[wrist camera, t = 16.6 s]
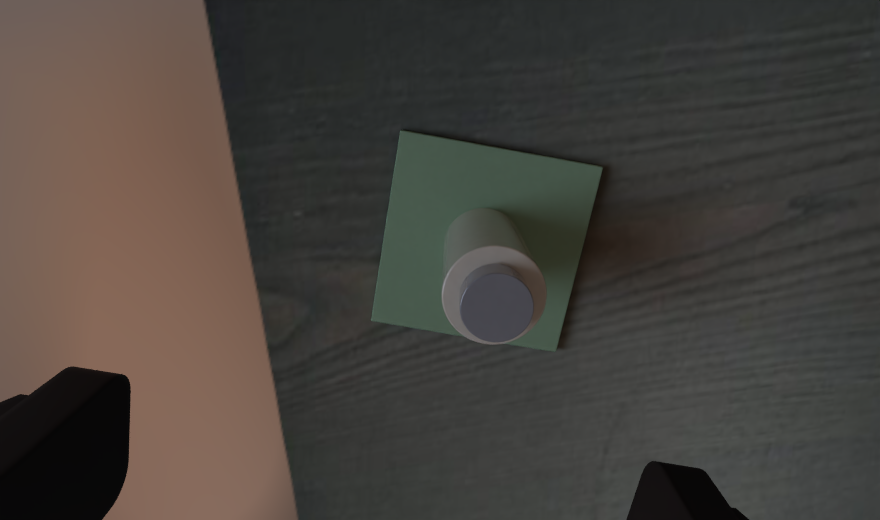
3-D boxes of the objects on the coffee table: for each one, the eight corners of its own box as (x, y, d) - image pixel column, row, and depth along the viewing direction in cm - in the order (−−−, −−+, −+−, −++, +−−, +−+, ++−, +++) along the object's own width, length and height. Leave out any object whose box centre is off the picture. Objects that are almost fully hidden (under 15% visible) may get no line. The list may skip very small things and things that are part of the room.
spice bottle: (437, 277, 35) (432, 349, 25) (450, 201, 34) (452, 245, 24) (513, 290, 35) (539, 367, 25) (530, 215, 34) (564, 265, 24)
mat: (372, 317, 36) (370, 321, 36) (401, 129, 33) (400, 129, 33) (554, 348, 37) (556, 352, 36) (601, 165, 34) (603, 167, 33)
